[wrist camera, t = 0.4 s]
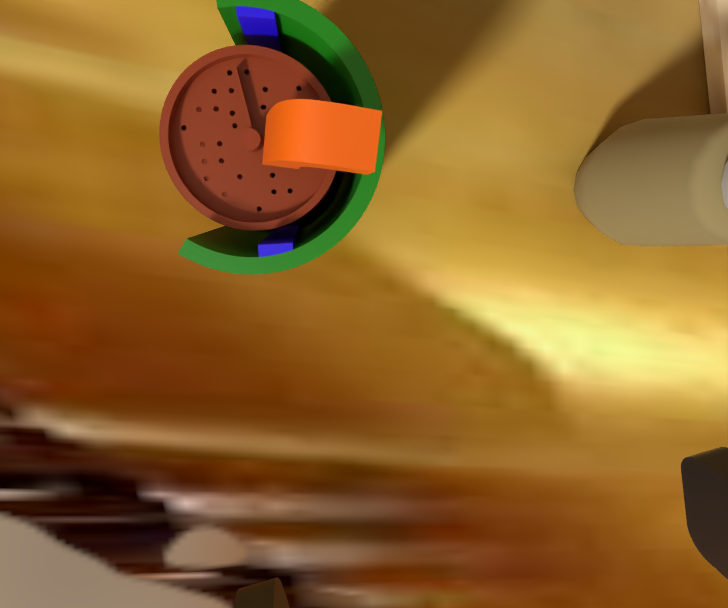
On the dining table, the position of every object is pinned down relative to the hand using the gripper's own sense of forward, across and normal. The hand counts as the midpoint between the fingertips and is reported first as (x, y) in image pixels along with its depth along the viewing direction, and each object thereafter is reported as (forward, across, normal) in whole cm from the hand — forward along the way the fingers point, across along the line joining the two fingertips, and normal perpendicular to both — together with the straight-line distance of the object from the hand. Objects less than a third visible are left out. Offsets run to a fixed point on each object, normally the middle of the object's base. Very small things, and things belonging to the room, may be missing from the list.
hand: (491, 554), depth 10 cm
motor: (+28, +2, -9) cm, 30 cm away
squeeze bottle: (+28, -20, -3) cm, 34 cm away
